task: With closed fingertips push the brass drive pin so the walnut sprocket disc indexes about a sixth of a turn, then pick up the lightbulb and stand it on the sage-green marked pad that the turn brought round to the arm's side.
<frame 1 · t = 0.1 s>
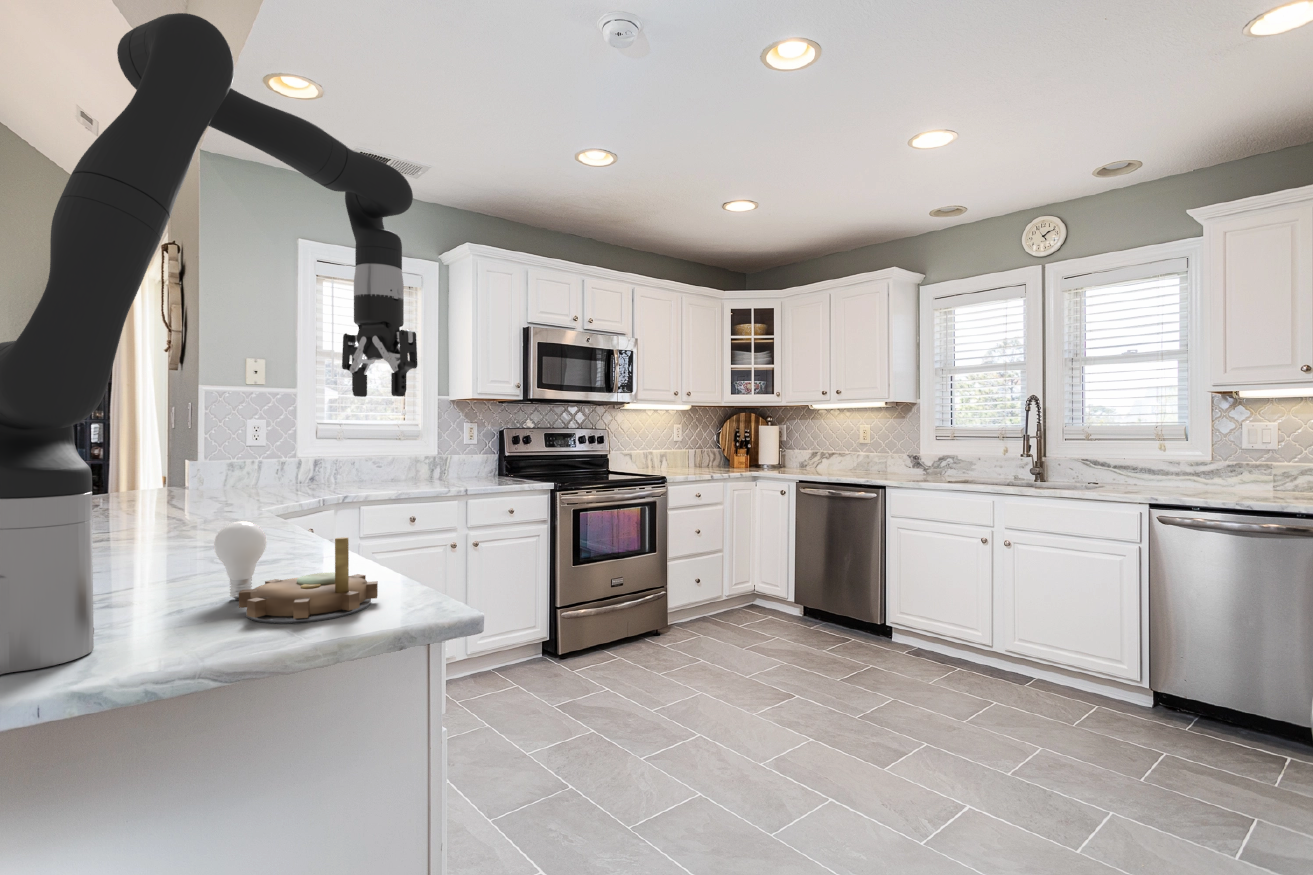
hand: (379, 396, 112), 29 cm above the counter, fingers open, 8 cm apart
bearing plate: (310, 607, 92), on the counter
sprocket: (310, 568, 92), point 5 cm above the counter, hinge at 0.0°
lightbulb: (241, 600, 97), on the counter
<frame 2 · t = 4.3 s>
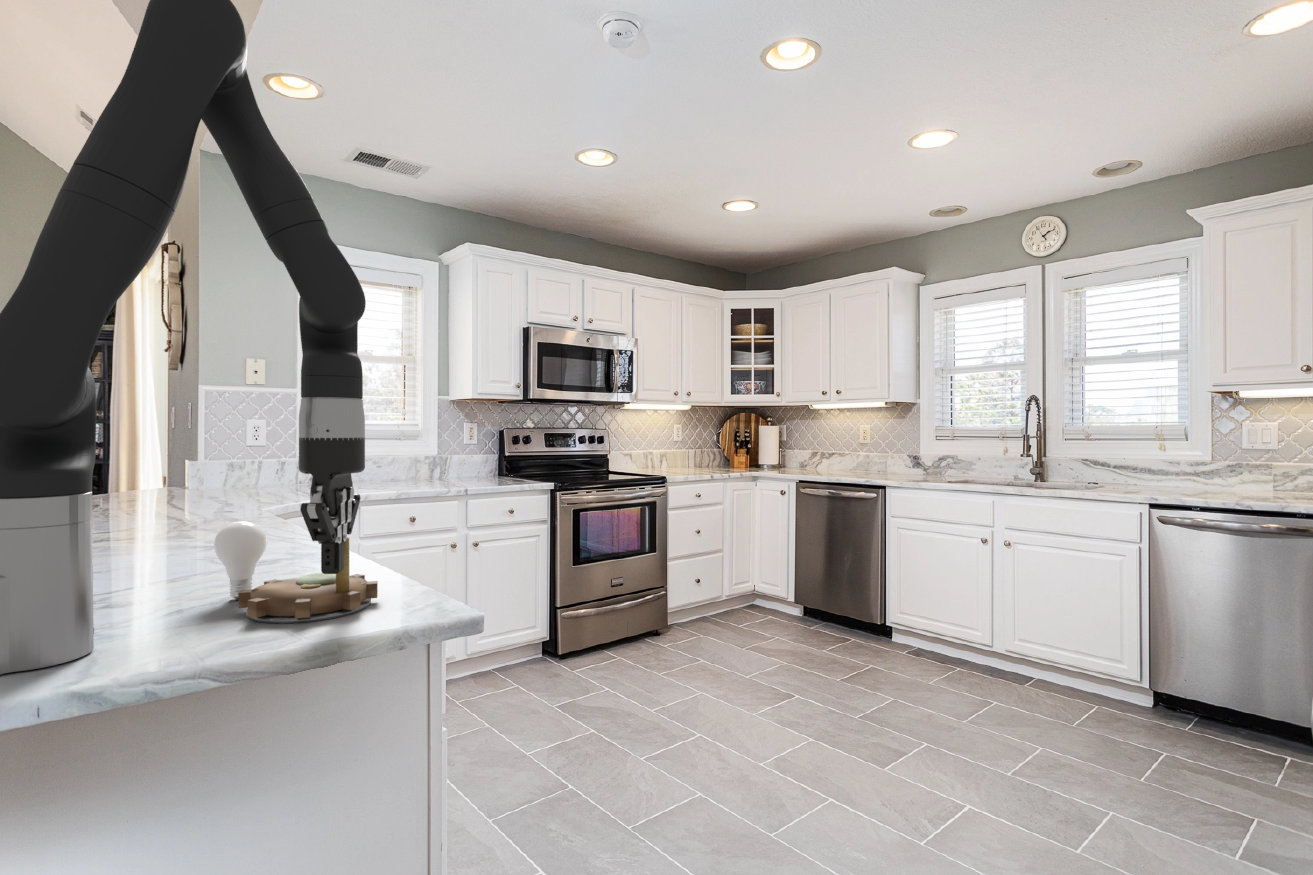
hand: (332, 572, 86), 6 cm above the counter, fingers closed
sprocket: (310, 568, 92), point 5 cm above the counter, hinge at 1.2°, touching gripper
everything else where it was.
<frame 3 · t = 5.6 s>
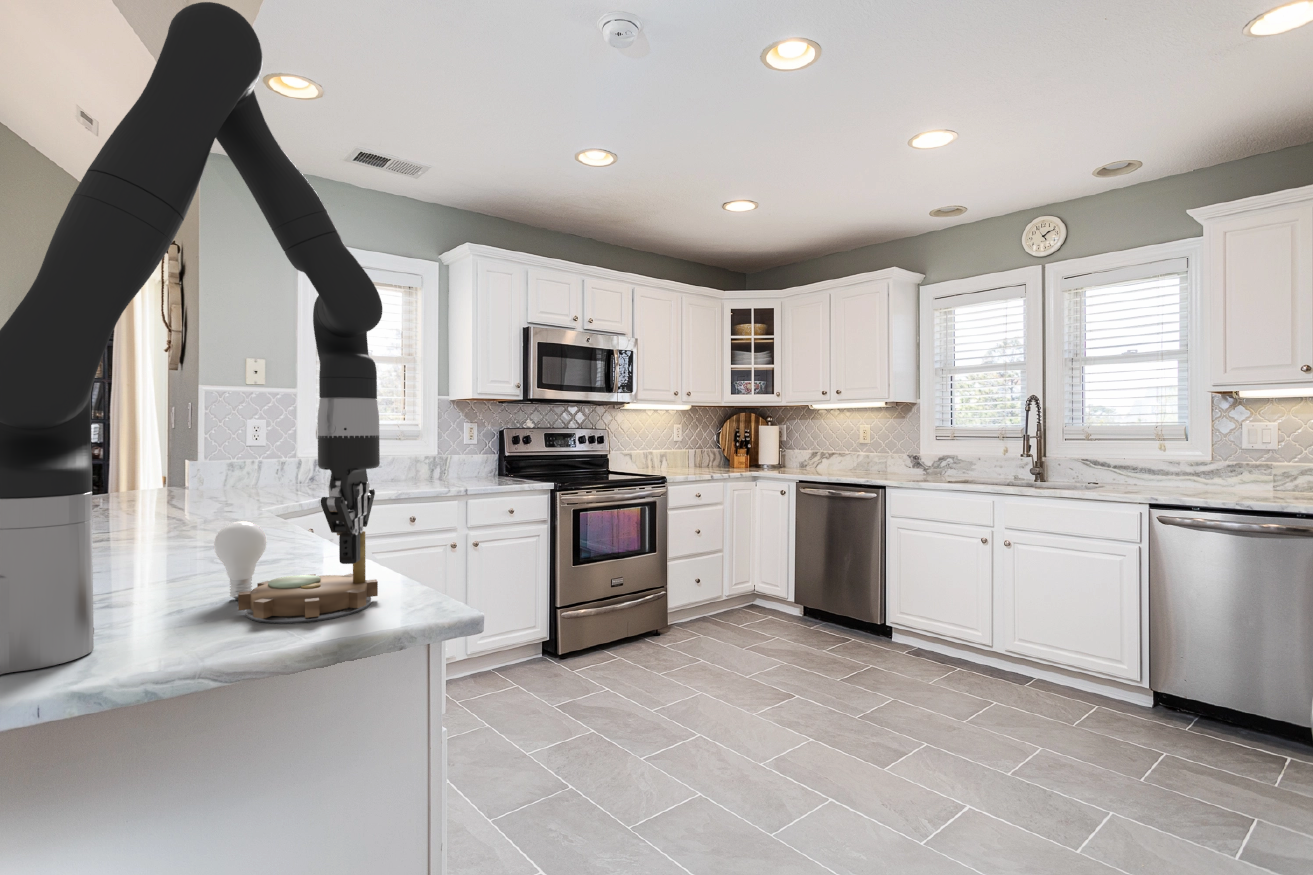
hand: (350, 562, 92), 6 cm above the counter, fingers closed
sprocket: (310, 568, 92), point 5 cm above the counter, hinge at 53.8°, touching gripper
everything else where it was.
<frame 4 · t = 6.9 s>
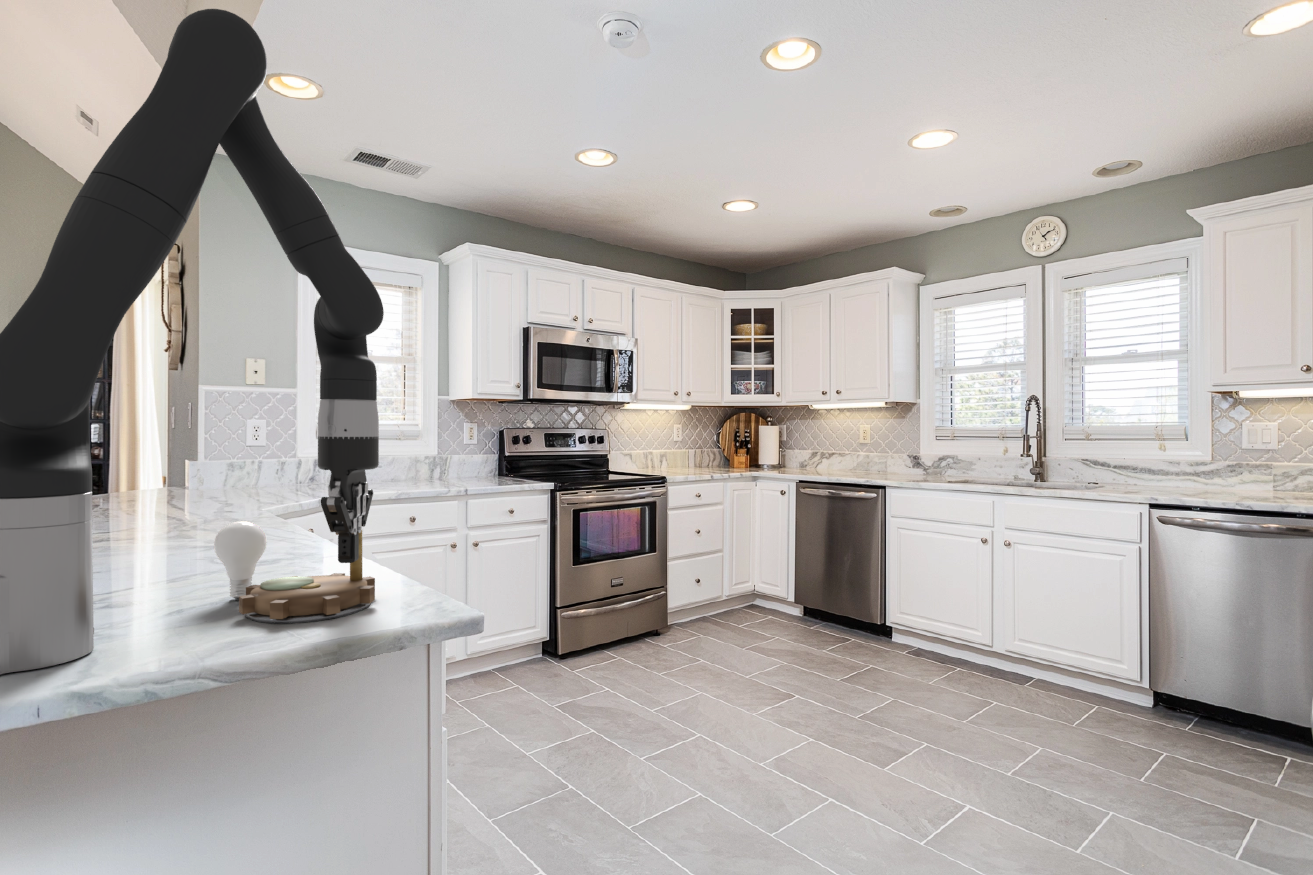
hand: (348, 561, 93), 6 cm above the counter, fingers closed
sprocket: (310, 568, 92), point 5 cm above the counter, hinge at 70.7°
everything else where it was.
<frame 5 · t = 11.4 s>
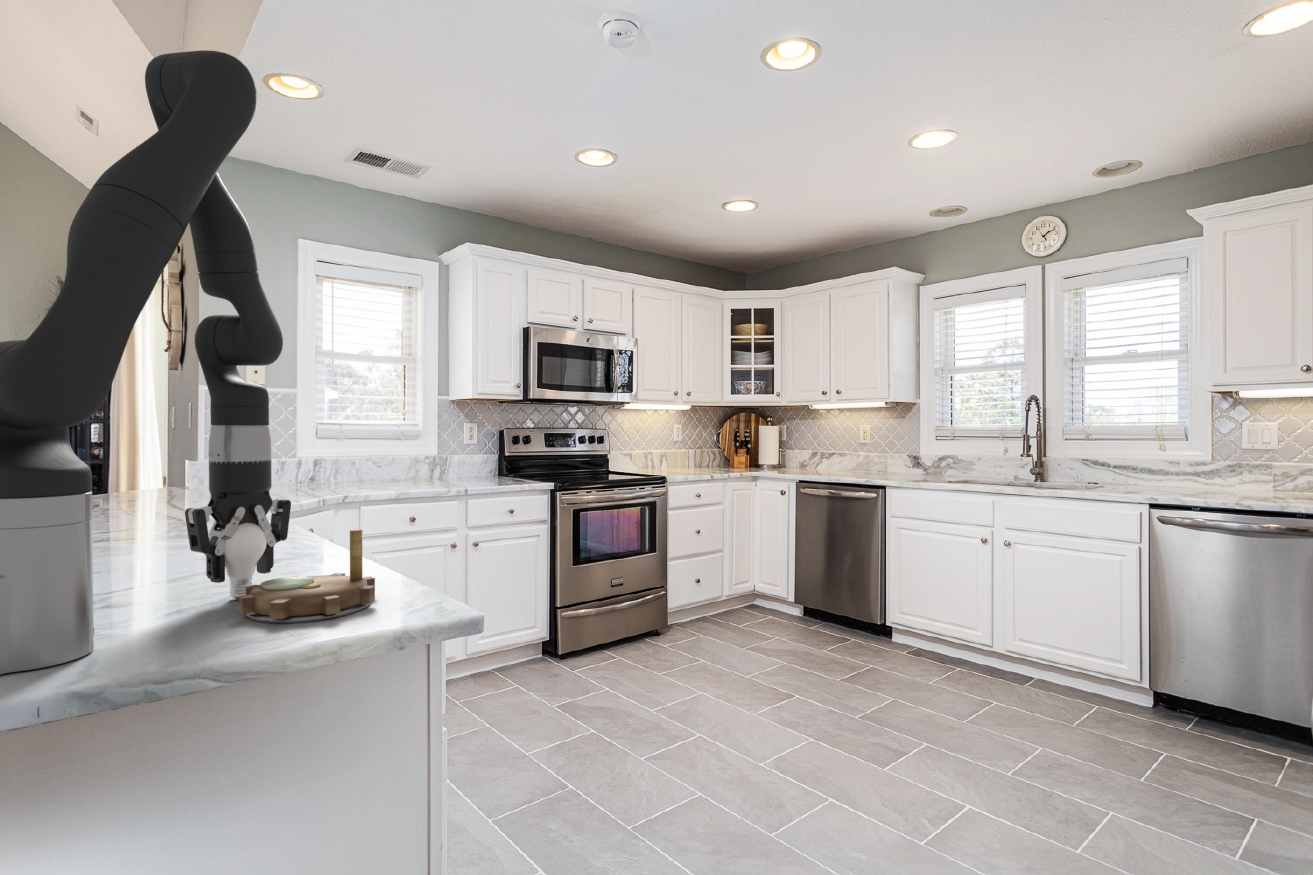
hand: (241, 576, 97), 3 cm above the counter, fingers closed on lightbulb, 6 cm apart
lightbulb: (241, 600, 97), on the counter, touching gripper
everything else where it was.
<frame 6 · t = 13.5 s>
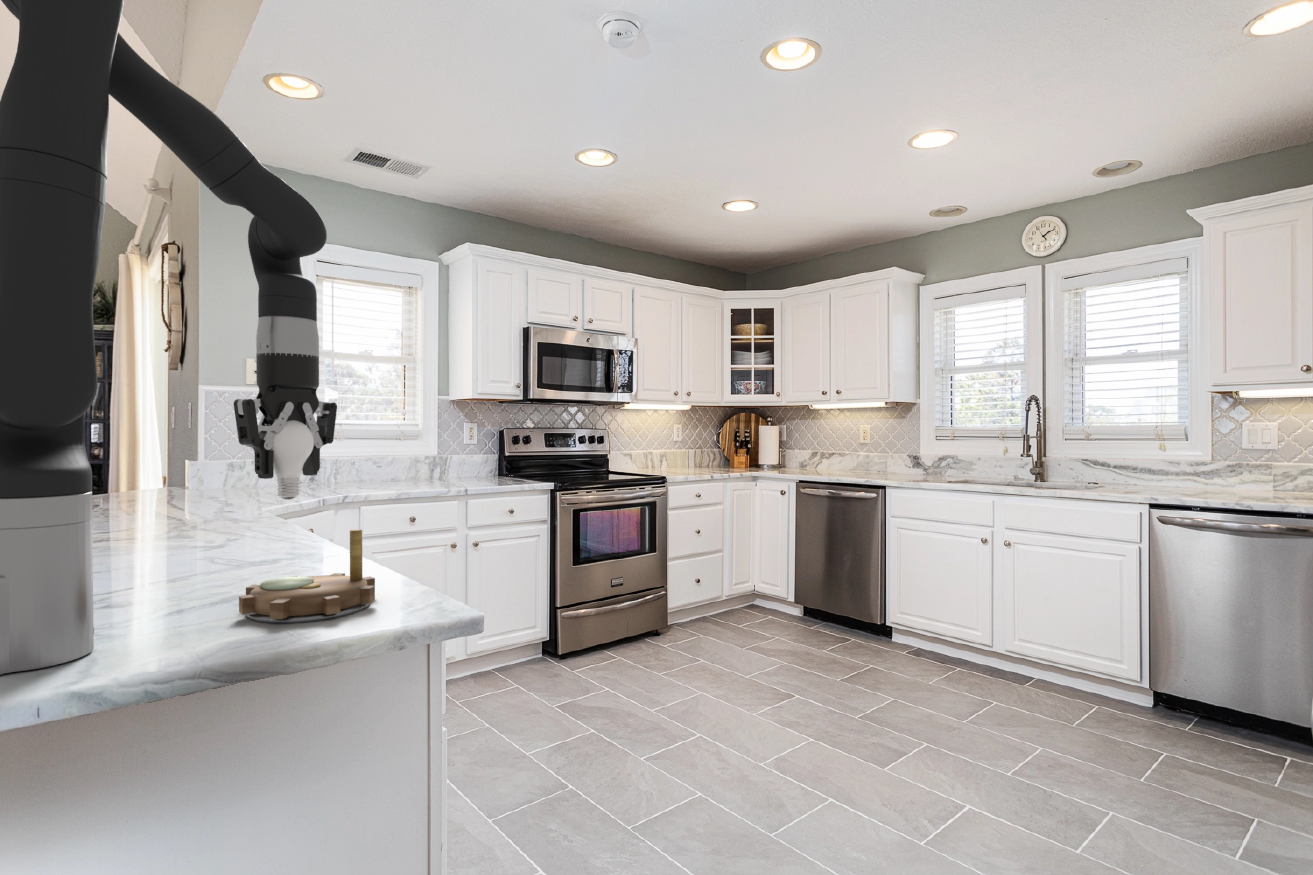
hand: (288, 476, 94), 18 cm above the counter, fingers closed on lightbulb, 6 cm apart
lightbulb: (288, 500, 94), point 14 cm above the counter, touching gripper
everything else where it was.
when the fingers open (8 cm above the counter, at t = 15.8 s): lightbulb drops 1 cm, resting on sprocket.
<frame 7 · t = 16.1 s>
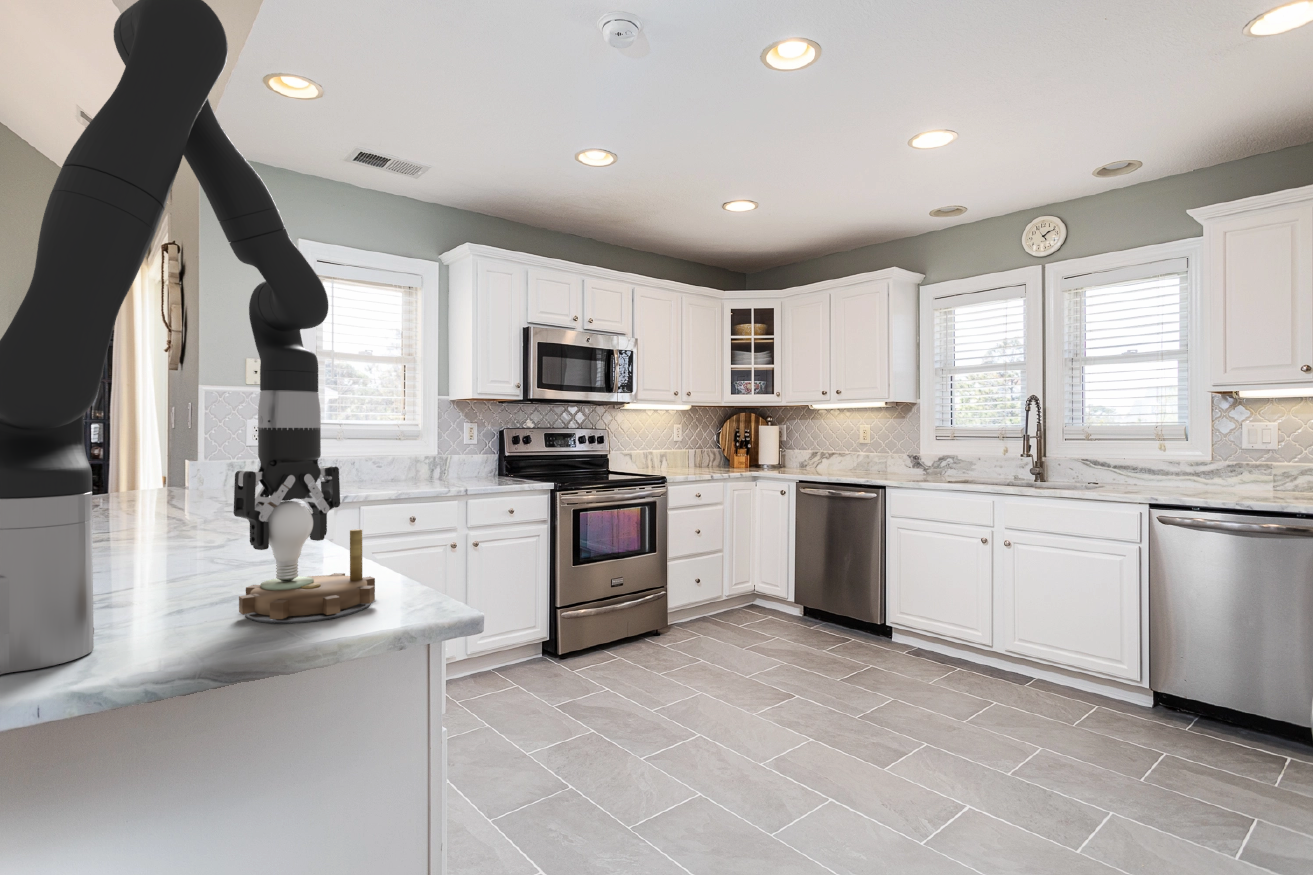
hand: (290, 544, 94), 8 cm above the counter, fingers open, 8 cm apart
sprocket: (310, 568, 92), point 5 cm above the counter, hinge at 70.6°, touching lightbulb
lightbulb: (287, 582, 94), point 3 cm above the counter, touching sprocket
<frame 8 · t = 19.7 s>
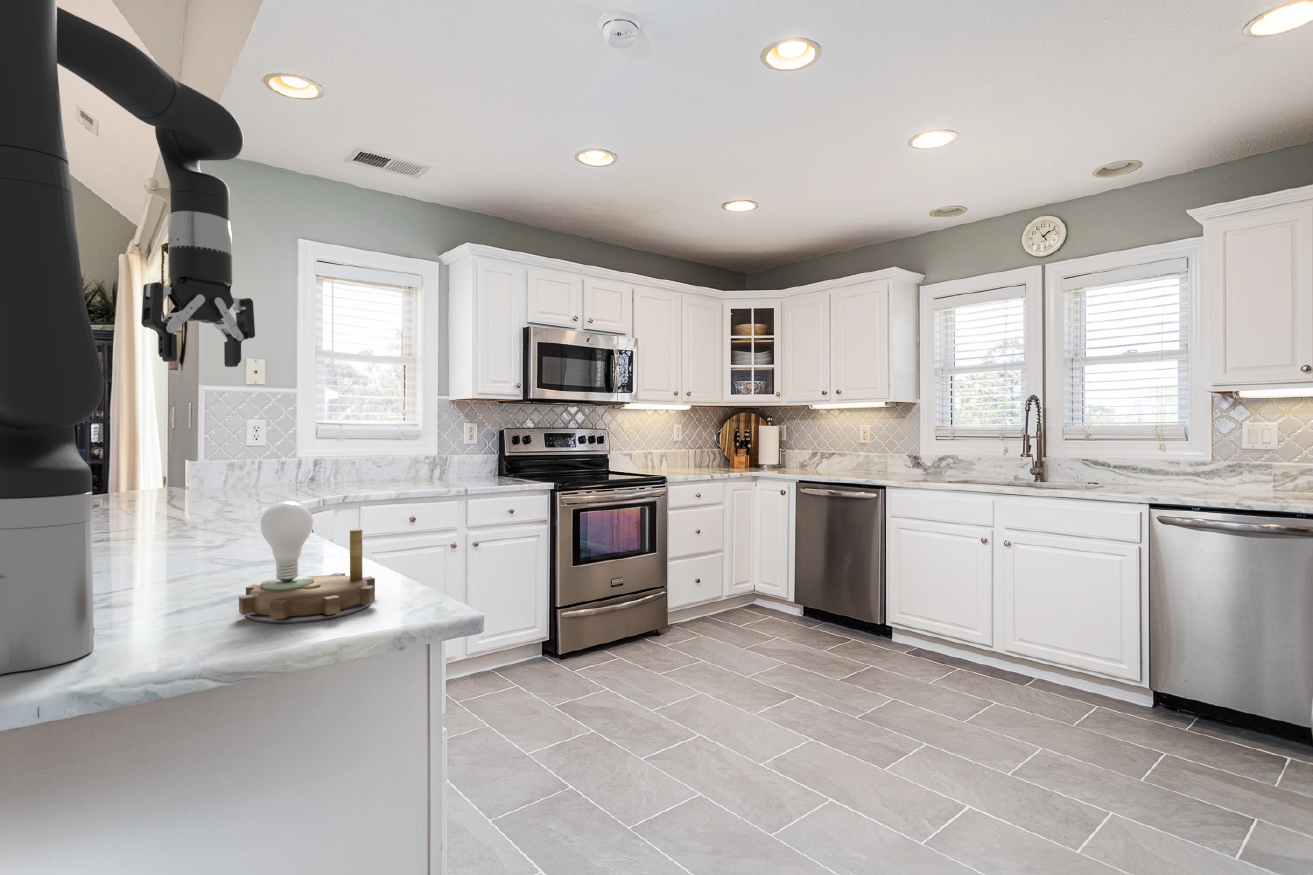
hand: (201, 364, 98), 33 cm above the counter, fingers open, 8 cm apart
nothing on the counter moved.
at the end: sprocket at +71° (first picture: +0°); lightbulb 0.6 cm from the target spot on the sprocket, point 3.0 cm above the sprocket's base; lightbulb tilted 0° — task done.
